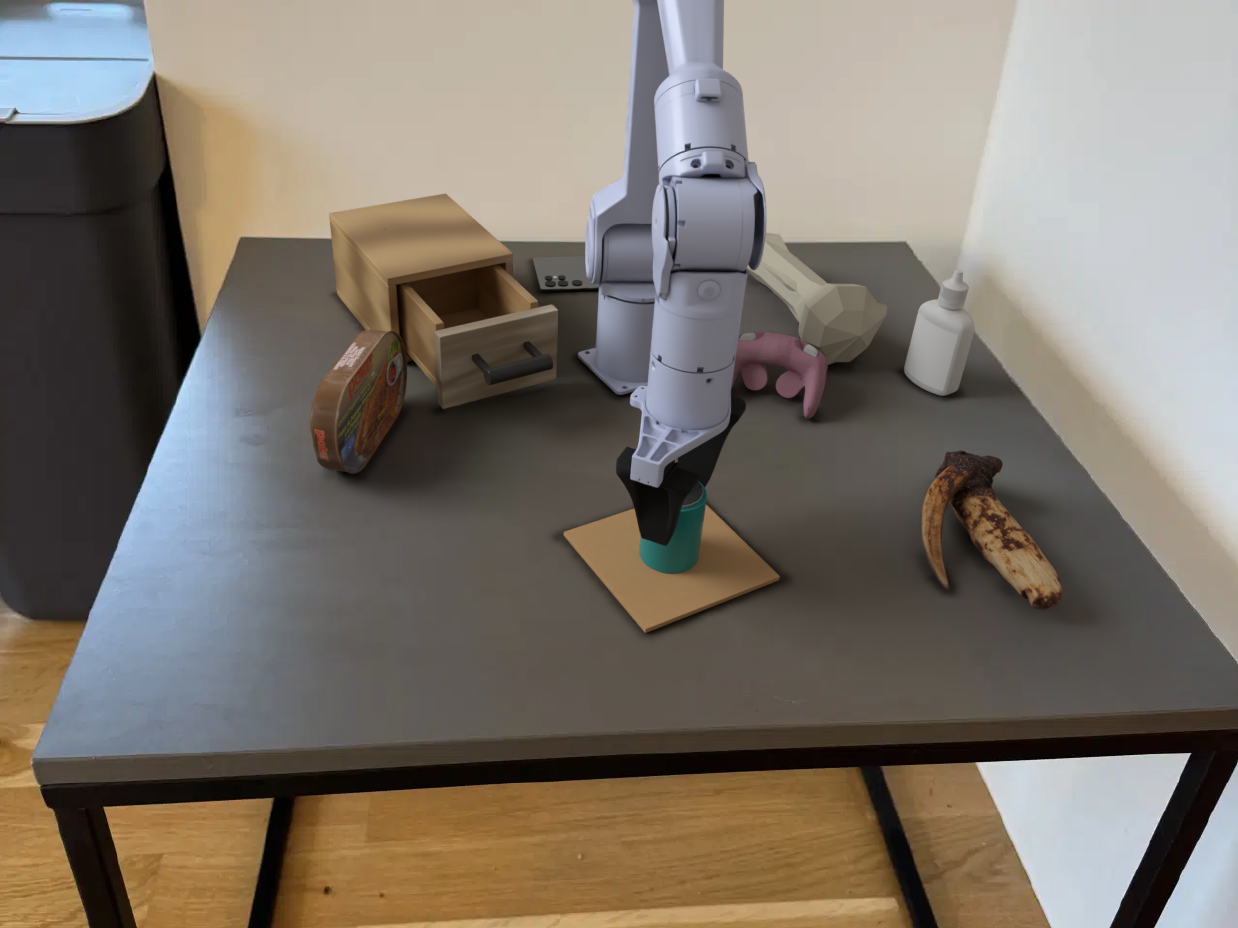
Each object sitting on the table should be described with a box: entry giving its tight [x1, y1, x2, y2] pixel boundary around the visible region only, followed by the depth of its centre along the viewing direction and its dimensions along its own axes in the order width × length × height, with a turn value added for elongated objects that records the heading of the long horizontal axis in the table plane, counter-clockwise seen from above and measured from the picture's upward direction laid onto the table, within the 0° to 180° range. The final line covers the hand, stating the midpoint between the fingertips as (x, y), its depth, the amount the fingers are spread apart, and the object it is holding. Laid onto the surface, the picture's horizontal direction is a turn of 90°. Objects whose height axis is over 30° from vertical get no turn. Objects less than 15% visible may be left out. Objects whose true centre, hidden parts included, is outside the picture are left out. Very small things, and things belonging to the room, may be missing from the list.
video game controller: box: [731, 331, 829, 420], centre depth 103 cm, size 10×5×7 cm, turn 71°
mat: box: [563, 504, 781, 634], centre depth 85 cm, size 12×12×1 cm
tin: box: [309, 329, 408, 474], centre depth 92 cm, size 15×3×8 cm, turn 168°
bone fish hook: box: [920, 449, 1063, 610], centre depth 86 cm, size 9×5×18 cm
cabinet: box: [328, 192, 514, 363], centre depth 110 cm, size 16×13×9 cm
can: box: [639, 481, 708, 574], centre depth 83 cm, size 5×5×6 cm
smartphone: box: [532, 255, 599, 292], centre depth 122 cm, size 8×1×16 cm
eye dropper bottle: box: [903, 268, 976, 397], centre depth 104 cm, size 4×6×12 cm
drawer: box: [396, 264, 559, 410], centre depth 101 cm, size 19×11×7 cm, turn 31°
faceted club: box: [746, 232, 888, 366], centre depth 115 cm, size 9×8×25 cm
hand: (675, 509), depth 82 cm, fingers open, 7 cm apart
